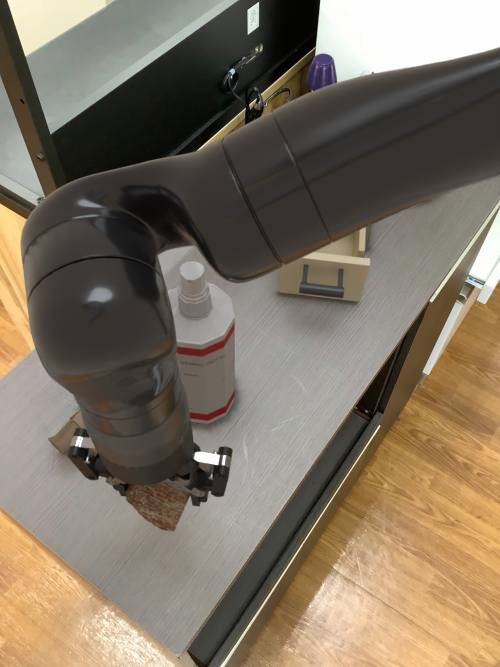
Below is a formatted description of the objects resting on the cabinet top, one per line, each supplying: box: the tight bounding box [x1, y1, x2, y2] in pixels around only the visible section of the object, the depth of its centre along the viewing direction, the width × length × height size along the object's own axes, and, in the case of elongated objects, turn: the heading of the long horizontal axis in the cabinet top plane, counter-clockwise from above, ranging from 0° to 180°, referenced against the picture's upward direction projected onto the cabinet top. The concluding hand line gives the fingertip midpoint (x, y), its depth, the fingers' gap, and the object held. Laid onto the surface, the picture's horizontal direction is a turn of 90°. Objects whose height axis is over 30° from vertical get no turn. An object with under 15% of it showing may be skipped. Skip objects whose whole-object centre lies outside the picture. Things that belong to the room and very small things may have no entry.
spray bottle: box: [167, 260, 236, 425], centre depth 67 cm, size 8×8×25 cm
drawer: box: [276, 227, 371, 303], centre depth 85 cm, size 19×11×8 cm, turn 172°
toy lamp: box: [305, 52, 338, 92], centre depth 96 cm, size 5×5×17 cm
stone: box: [125, 482, 191, 532], centre depth 60 cm, size 7×6×5 cm
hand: (162, 491), depth 60 cm, fingers closed on stone, 6 cm apart
